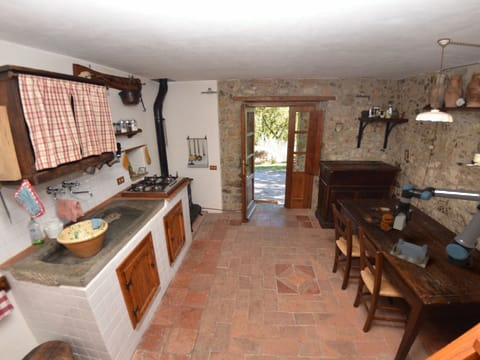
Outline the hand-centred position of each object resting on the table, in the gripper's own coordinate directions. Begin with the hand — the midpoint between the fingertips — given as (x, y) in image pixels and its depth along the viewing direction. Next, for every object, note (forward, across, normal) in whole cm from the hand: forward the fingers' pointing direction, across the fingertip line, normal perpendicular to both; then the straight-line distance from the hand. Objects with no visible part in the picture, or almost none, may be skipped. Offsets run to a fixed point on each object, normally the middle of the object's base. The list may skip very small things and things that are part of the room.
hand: (399, 225), depth 193 cm
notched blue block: (+16, -13, +16) cm, 26 cm away
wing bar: (+1, 0, 0) cm, 1 cm away
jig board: (+17, -13, +16) cm, 27 cm away
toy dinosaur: (+17, +14, -18) cm, 28 cm away
